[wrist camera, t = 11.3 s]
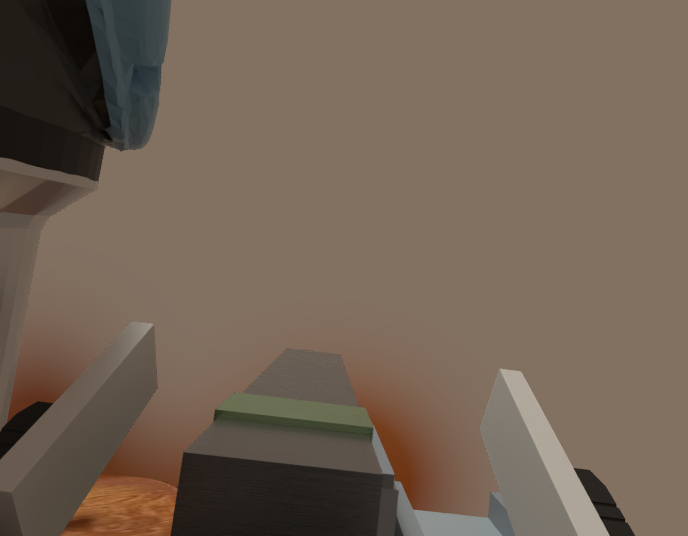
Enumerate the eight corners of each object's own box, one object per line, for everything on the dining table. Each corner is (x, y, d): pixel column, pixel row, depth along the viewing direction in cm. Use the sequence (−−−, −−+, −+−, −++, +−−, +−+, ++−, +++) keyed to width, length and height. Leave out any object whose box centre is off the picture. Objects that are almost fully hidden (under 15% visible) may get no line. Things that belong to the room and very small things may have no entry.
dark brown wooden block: (364, 690, 8) (389, 464, 9) (144, 669, 8) (179, 440, 9) (335, 409, 32) (341, 351, 33) (278, 402, 32) (285, 345, 33)
